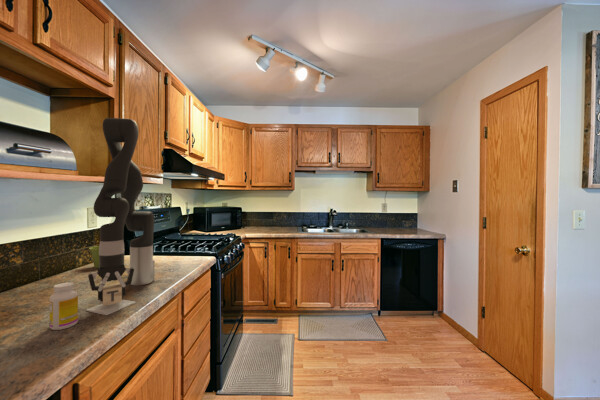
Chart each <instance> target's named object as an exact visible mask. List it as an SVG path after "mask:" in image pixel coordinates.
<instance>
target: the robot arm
mask: <svg viewBox="0 0 600 400" xmlns="http://www.w3.org/2000/svg"><path fill="white" fill-rule="evenodd" d="M102 132H103V136H104V138H105V142H106V145H107V148H108V151H109V153H110V157H111V161H110V162H109V163H108V165H107V167H106V169H105V171H104V173H105V174H104V178H103V184H102V187H101V189H100V191H99V194H98V195H97V197H96V198H95V200H94V203H93V213H94V214H95V215H96V216H97V217H99V218H114V221H113V222H110V223H106V224H102V225H101V226H100V228H99V245H98V246H99V268H98V270H97V271H94V272H89V273H88V274H87V277H88V281H89V285H90V289H91V291H92V292H93V291H97V299H98V301H100V302H102V301H103V290H102V289H103V287H104V286H106V283H107V282H111V281H118V282H119V283H120V284H121V286H122V298H124V296H126V287H127V286H129V285H130V286H144V285H148V284H150V283H152V282H153V281H155V270H156V268H155V267H156V265H155V263H156V262H155V260H154V247H153V246H154V230H155V229H154V228H155V216H154V213H153V212H152V211H137V210H136V208H135V204H136V201H137V199H138V197H139V196H140V194H141V192H142V191H143V189H144V182H143V181H144V180H143V175H142V172H141V170H140V168H139V167H138V165H137V164H136V163H135V162H134V161H133V160H132V159H133V156H134V154H135V150H136V147H137V143H138V140H139V125H138V124H137V122H136V120H134V119H132V118H120V117H119V118H118V117H106V118H104V119H103V121H102ZM122 143H123V145H122ZM117 194H120V197H113V196H115V195H117ZM125 227H126V228H127V230H128V231H130V232H142V235H141V236H139V237H137V238H133V239H131V240H130V242H129V267H126V266H125V242H124V231H125V230H124V228H125ZM125 272H126V274H127V279H126V281H124V279H123V278H122V276H123V274H125ZM97 275H98V276H99V277H100V278H101V280H100V282H99V284H98V285H96V283H95V279H96V278H97Z"/></svg>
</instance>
